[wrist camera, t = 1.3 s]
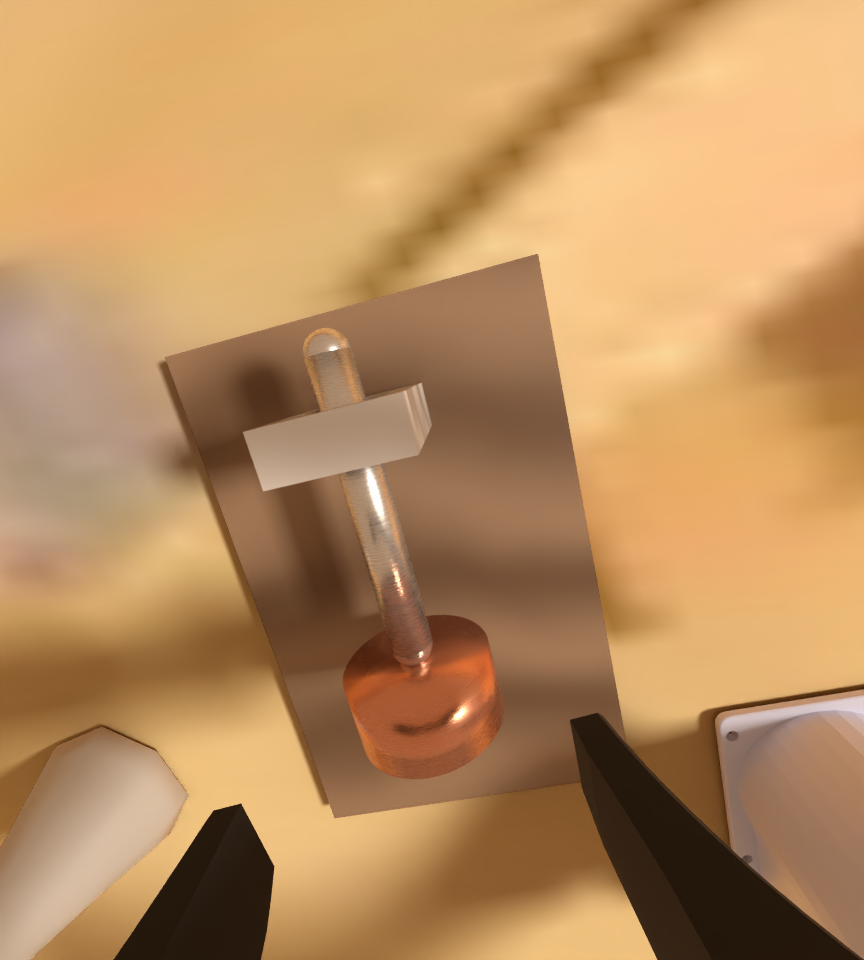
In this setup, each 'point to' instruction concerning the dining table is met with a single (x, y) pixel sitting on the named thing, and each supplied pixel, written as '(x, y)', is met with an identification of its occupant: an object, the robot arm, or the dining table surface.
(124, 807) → the flask
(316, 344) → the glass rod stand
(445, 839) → the dining table surface
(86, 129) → the dining table surface
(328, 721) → the board
